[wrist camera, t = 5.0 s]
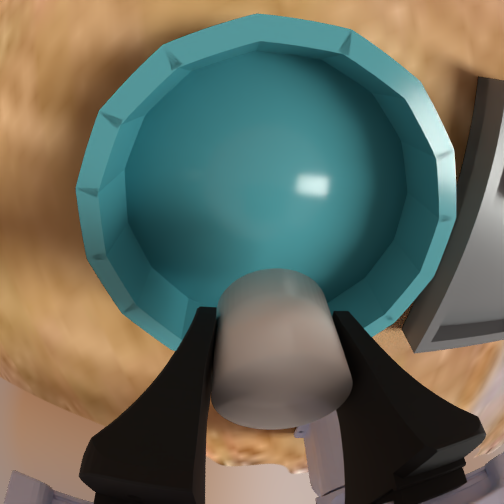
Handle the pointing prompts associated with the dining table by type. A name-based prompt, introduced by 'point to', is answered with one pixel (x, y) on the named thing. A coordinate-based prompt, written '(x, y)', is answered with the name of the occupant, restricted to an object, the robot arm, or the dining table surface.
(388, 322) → the bowl
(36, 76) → the dining table surface
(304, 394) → the stone
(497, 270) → the tray
